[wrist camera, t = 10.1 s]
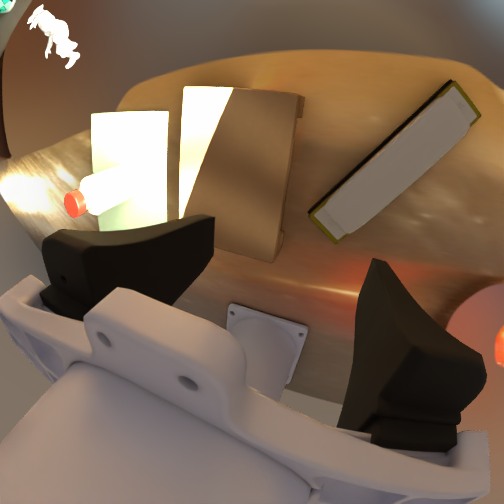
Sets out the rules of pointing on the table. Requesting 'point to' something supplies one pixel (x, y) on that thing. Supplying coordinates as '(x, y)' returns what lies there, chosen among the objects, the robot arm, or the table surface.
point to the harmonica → (396, 162)
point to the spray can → (6, 5)
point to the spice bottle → (102, 191)
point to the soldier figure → (55, 34)
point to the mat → (133, 164)
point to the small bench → (238, 164)
